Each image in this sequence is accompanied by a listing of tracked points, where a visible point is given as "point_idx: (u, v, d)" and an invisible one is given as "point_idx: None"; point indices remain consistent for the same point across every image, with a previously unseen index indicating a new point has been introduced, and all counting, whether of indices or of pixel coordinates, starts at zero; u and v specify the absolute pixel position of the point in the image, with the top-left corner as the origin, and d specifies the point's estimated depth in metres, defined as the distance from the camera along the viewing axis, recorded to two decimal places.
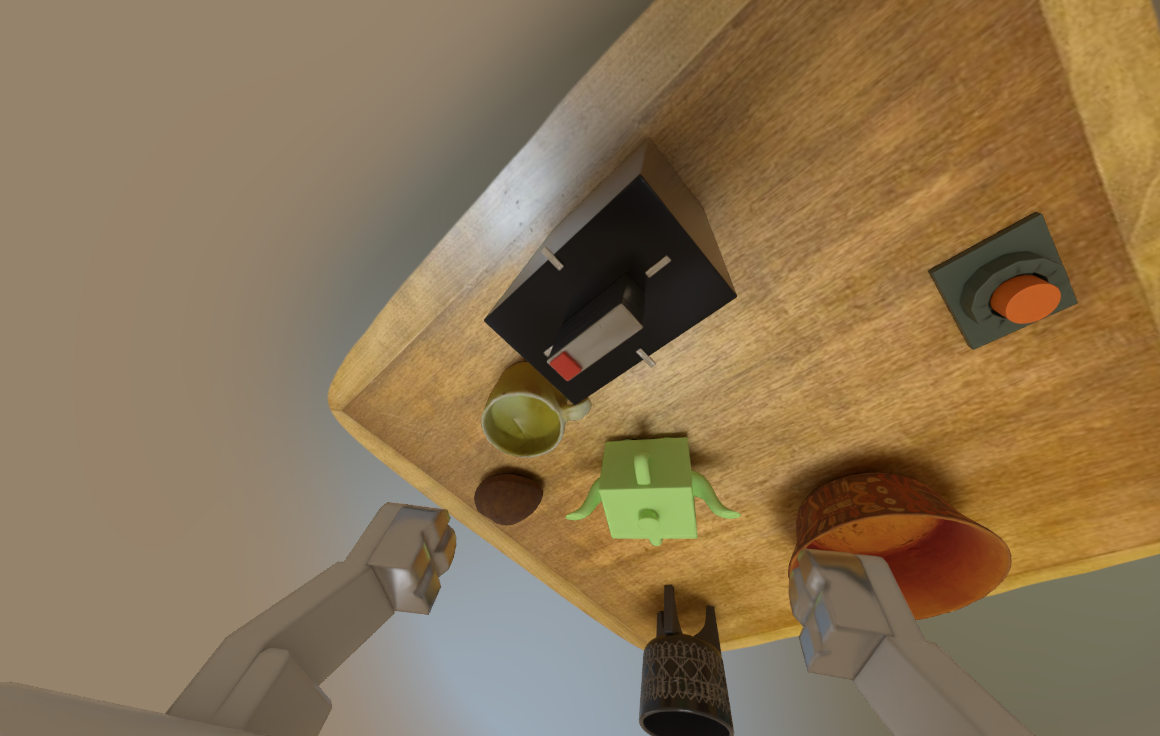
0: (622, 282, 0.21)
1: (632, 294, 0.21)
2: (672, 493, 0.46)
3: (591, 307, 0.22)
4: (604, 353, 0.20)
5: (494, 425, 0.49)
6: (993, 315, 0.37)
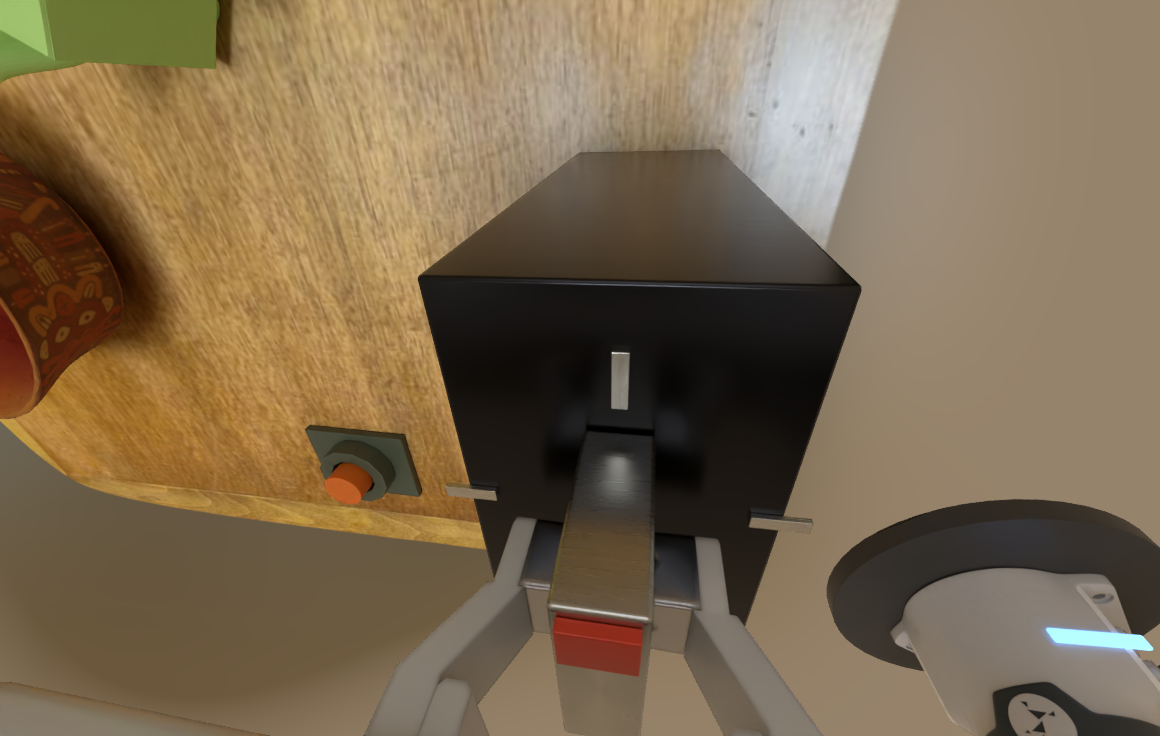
0: None
1: None
2: None
3: None
4: (562, 686, 0.08)
5: None
6: (339, 462, 0.40)
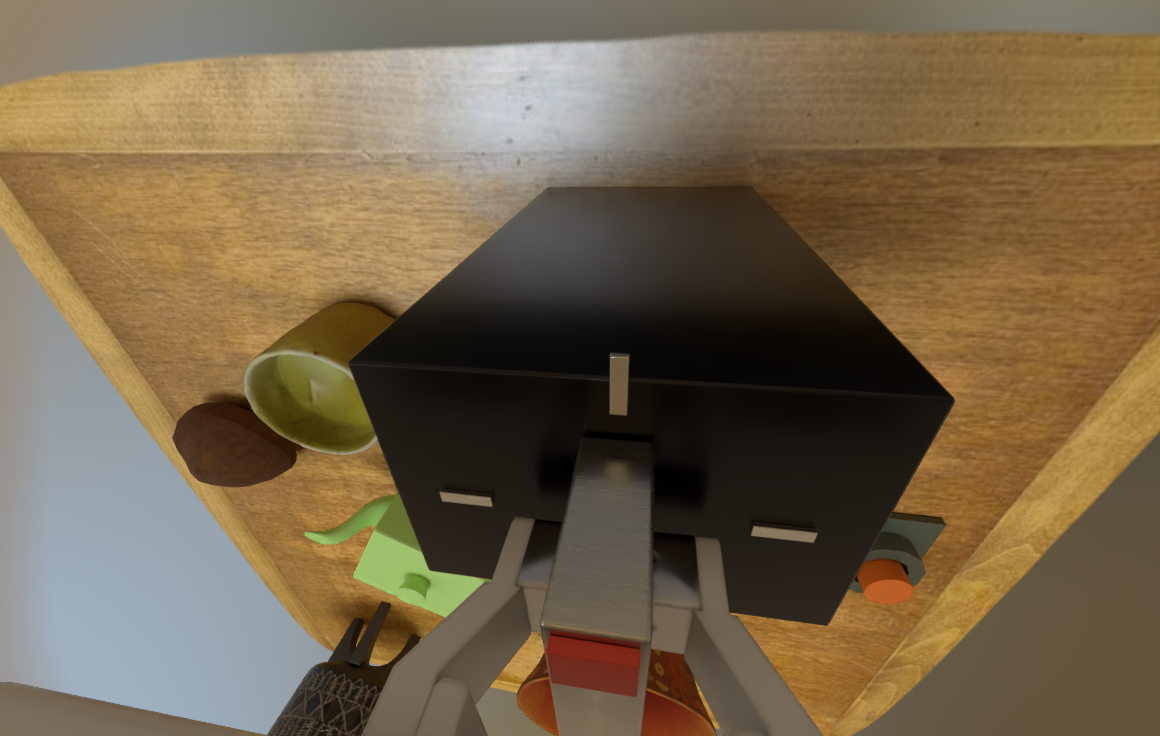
0: None
1: None
2: (463, 578, 0.35)
3: None
4: (558, 703, 0.07)
5: (271, 371, 0.29)
6: None
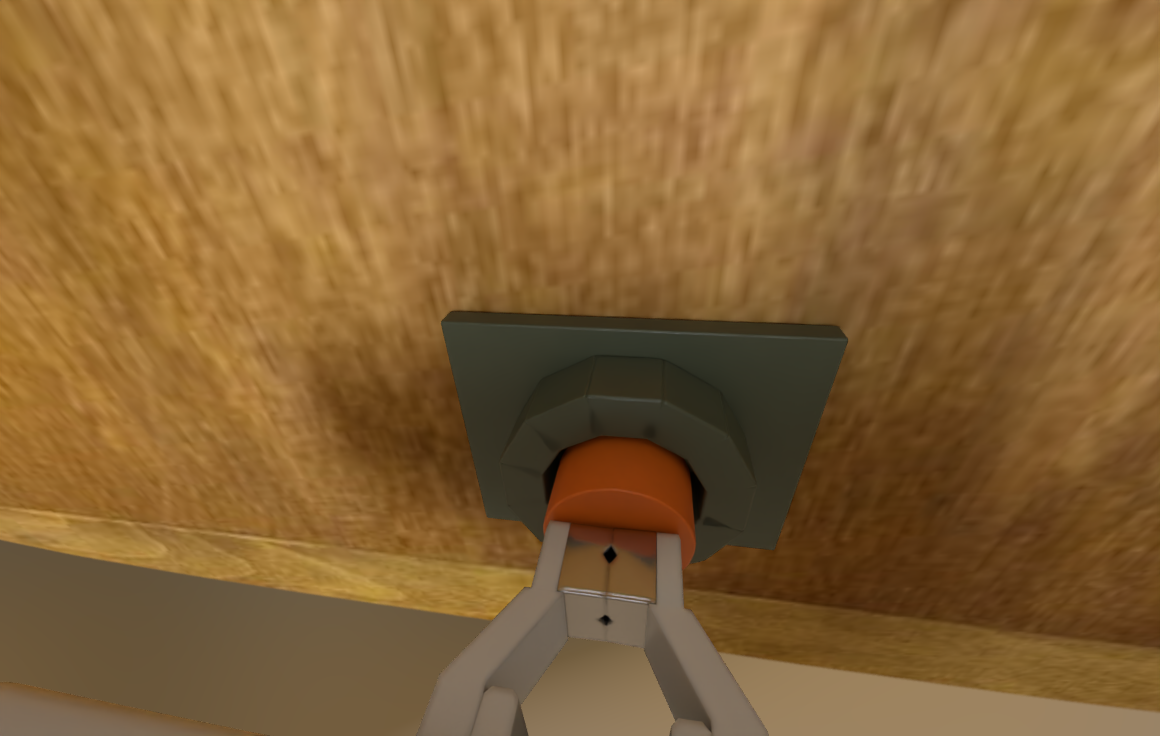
0: None
1: None
2: None
3: None
4: None
5: None
6: (592, 435, 0.10)
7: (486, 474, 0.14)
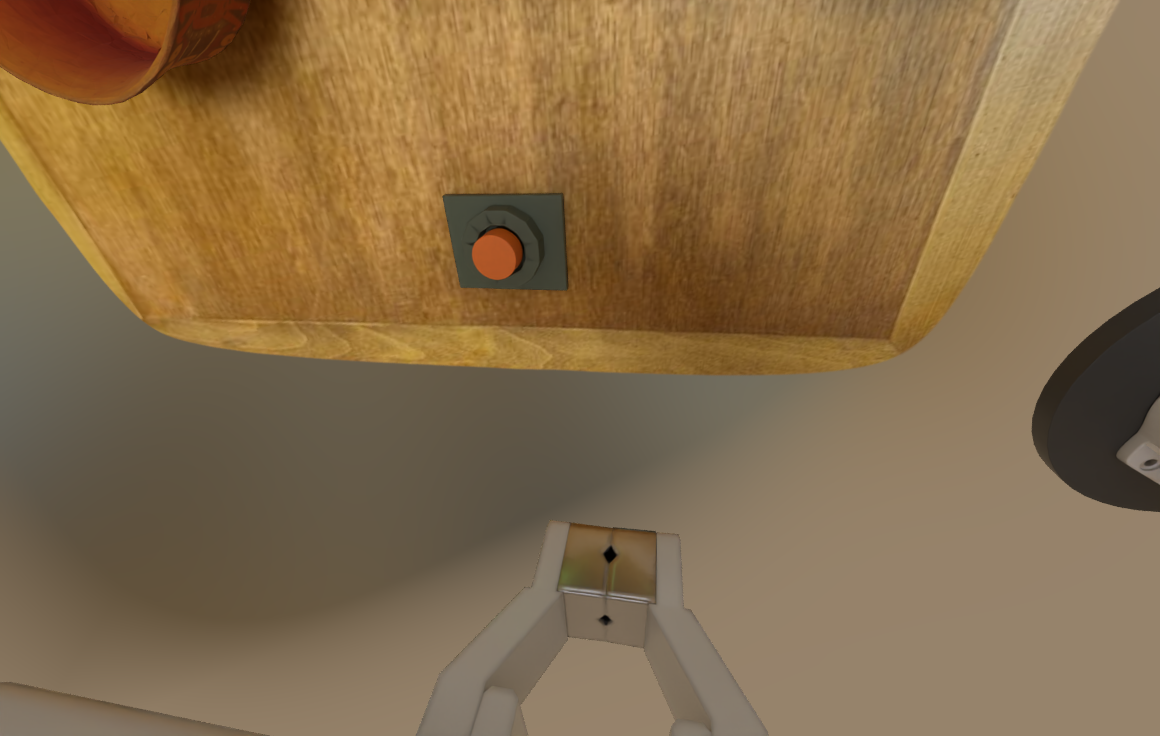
0: None
1: None
2: None
3: None
4: None
5: None
6: (488, 226, 0.34)
7: (459, 263, 0.38)
